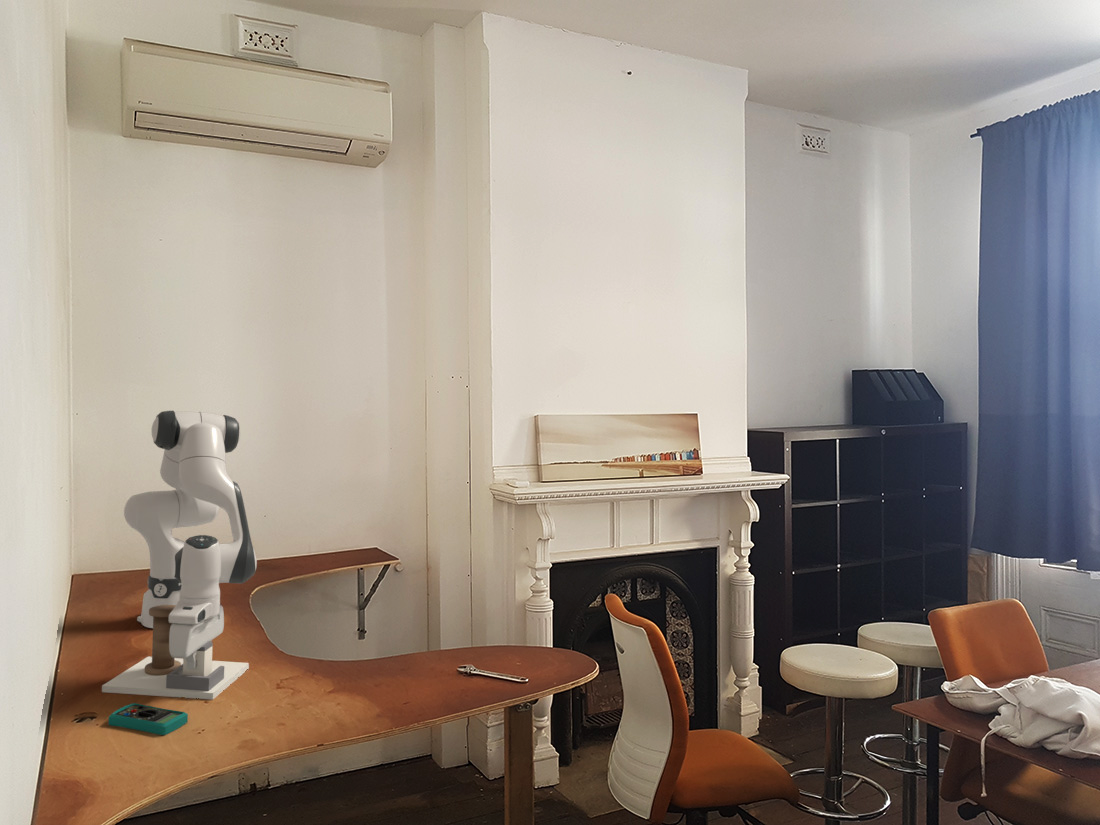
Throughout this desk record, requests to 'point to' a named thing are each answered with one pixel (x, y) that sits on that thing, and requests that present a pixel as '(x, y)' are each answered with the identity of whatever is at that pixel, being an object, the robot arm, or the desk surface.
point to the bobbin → (161, 642)
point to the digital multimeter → (148, 719)
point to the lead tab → (201, 661)
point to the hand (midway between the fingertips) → (197, 664)
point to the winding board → (176, 681)
